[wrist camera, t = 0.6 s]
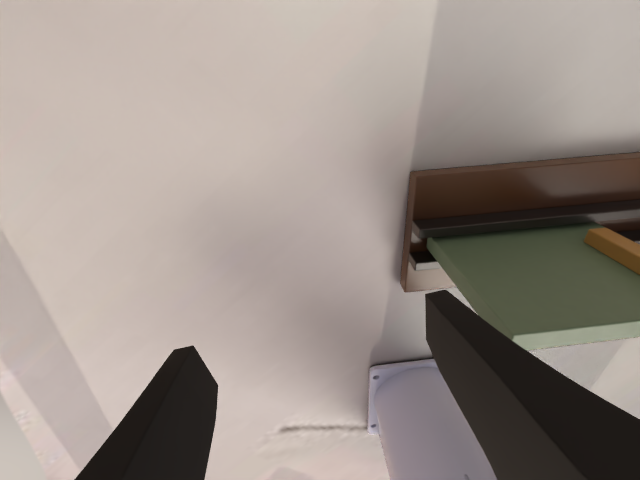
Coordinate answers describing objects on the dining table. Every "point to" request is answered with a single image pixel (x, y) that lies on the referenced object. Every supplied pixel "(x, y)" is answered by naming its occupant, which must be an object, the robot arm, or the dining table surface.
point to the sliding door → (548, 282)
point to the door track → (515, 204)
